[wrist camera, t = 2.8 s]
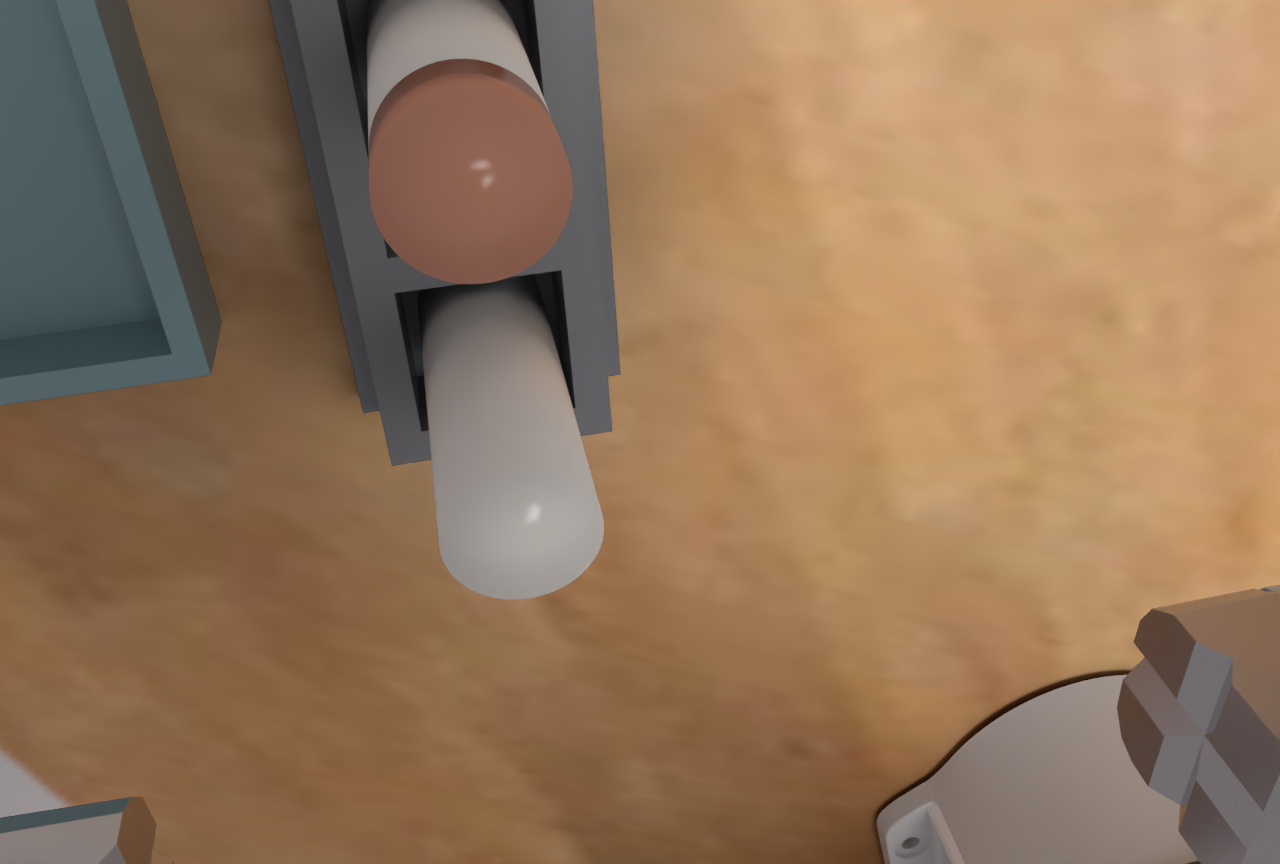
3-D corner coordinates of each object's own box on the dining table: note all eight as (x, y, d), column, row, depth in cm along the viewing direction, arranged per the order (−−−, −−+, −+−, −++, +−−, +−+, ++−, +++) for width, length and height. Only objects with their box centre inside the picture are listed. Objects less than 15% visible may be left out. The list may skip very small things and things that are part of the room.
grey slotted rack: (614, 358, 37) (638, 427, 34) (363, 395, 36) (363, 470, 33) (545, -549, 25) (573, -577, 21) (153, -531, 24) (120, -558, 20)
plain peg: (546, 346, 36) (609, 584, 27) (428, 363, 35) (451, 612, 26) (534, 238, 33) (598, 457, 25) (408, 255, 33) (426, 484, 24)
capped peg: (517, 87, 31) (580, 270, 22) (380, 103, 30) (388, 296, 22) (500, -57, 29) (563, 81, 20) (353, -42, 28) (351, 106, 19)
